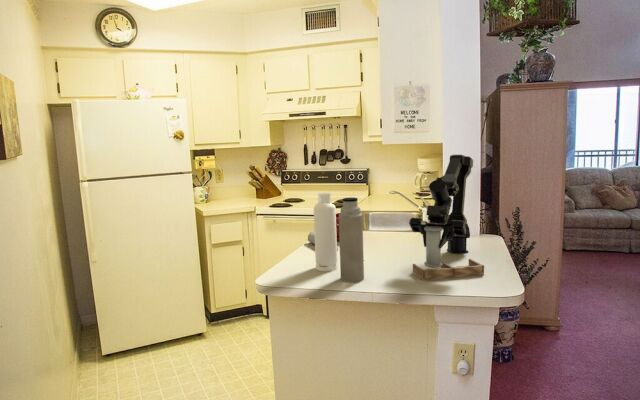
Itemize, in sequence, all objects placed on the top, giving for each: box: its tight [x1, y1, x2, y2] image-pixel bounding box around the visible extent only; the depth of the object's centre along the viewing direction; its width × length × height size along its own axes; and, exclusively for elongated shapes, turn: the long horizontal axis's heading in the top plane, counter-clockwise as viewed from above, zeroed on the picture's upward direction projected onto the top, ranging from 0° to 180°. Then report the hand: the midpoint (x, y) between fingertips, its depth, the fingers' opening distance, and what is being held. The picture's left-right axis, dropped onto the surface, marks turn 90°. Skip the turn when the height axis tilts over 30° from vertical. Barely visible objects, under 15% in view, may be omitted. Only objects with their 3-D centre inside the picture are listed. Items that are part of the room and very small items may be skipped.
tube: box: [307, 231, 339, 252], centre depth 195 cm, size 5×5×25 cm
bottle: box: [313, 192, 338, 272], centre depth 163 cm, size 8×8×28 cm
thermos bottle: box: [339, 197, 365, 283], centre depth 150 cm, size 8×8×28 cm
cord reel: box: [424, 226, 443, 269], centre depth 151 cm, size 6×6×13 cm
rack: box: [412, 258, 485, 282], centre depth 153 cm, size 22×9×3 cm, turn 100°
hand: (432, 247), depth 150 cm, fingers closed on cord reel, 5 cm apart
